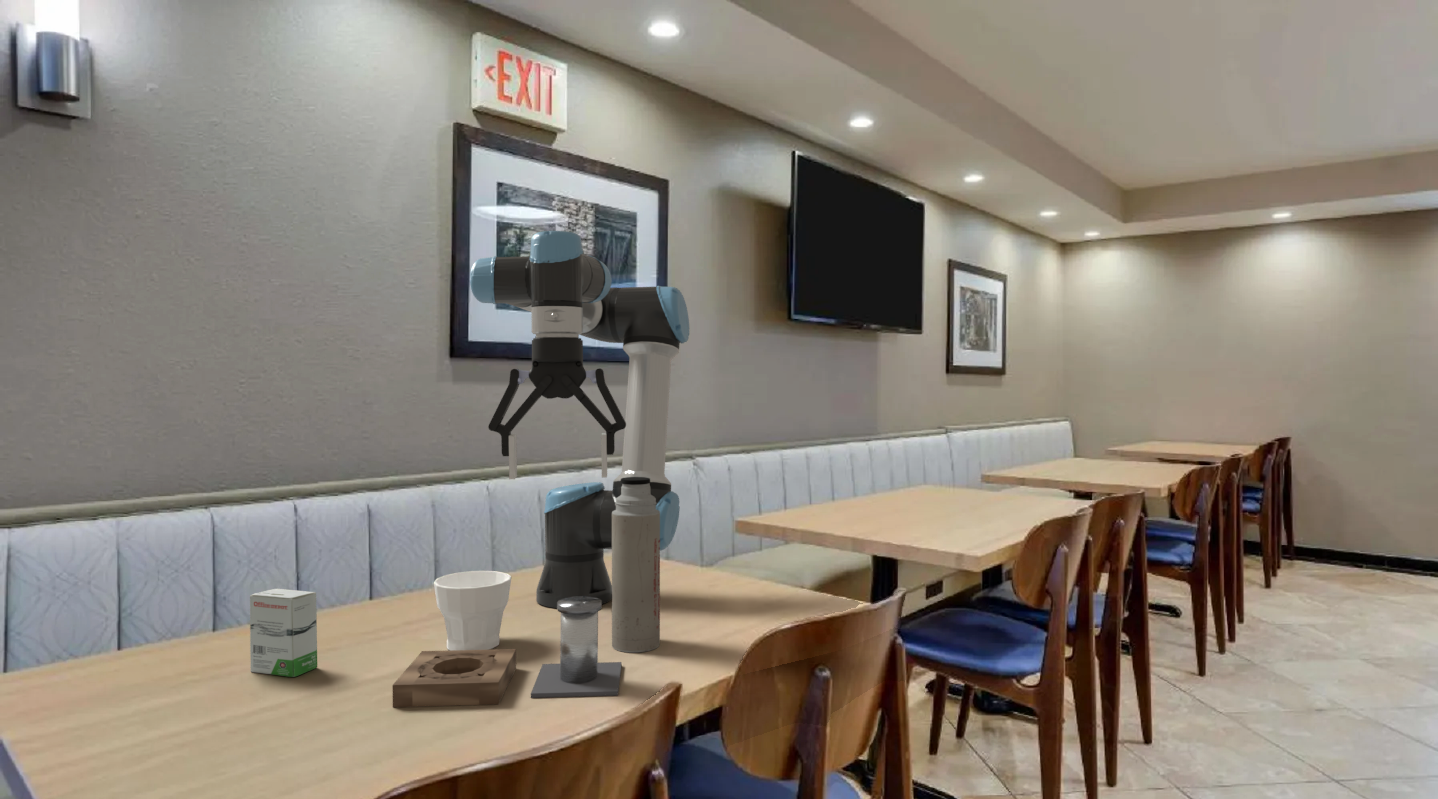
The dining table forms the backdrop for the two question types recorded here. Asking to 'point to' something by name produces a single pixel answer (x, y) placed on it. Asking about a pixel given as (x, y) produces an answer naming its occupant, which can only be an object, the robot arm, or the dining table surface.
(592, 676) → the glass jar
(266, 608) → the ink box
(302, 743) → the dining table surface
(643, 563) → the thermos bottle
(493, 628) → the cup
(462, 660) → the block
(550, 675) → the mat
